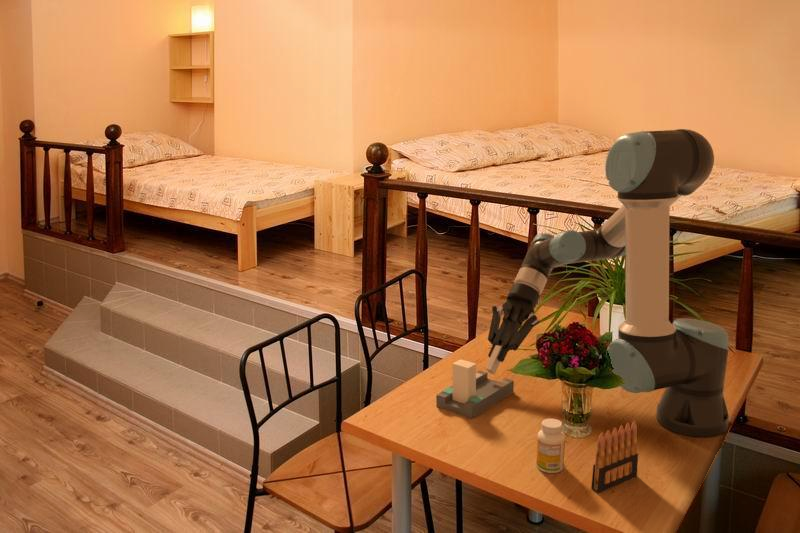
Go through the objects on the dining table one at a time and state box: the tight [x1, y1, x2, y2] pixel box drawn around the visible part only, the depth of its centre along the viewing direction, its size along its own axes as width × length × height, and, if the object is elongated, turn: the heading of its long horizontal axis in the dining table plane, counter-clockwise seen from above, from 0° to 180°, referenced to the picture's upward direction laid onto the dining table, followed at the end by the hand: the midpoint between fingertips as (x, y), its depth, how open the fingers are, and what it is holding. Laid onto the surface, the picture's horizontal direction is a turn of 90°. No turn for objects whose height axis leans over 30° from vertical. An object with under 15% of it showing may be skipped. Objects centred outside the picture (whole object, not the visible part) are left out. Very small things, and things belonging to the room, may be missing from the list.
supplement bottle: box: [536, 418, 566, 474], centre depth 153 cm, size 5×5×10 cm
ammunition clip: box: [590, 420, 639, 494], centre depth 147 cm, size 11×2×12 cm, turn 122°
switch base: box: [435, 370, 515, 419], centre depth 184 cm, size 18×10×3 cm, turn 140°
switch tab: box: [451, 359, 477, 403], centre depth 179 cm, size 3×4×9 cm
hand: (489, 371), depth 187 cm, fingers closed
